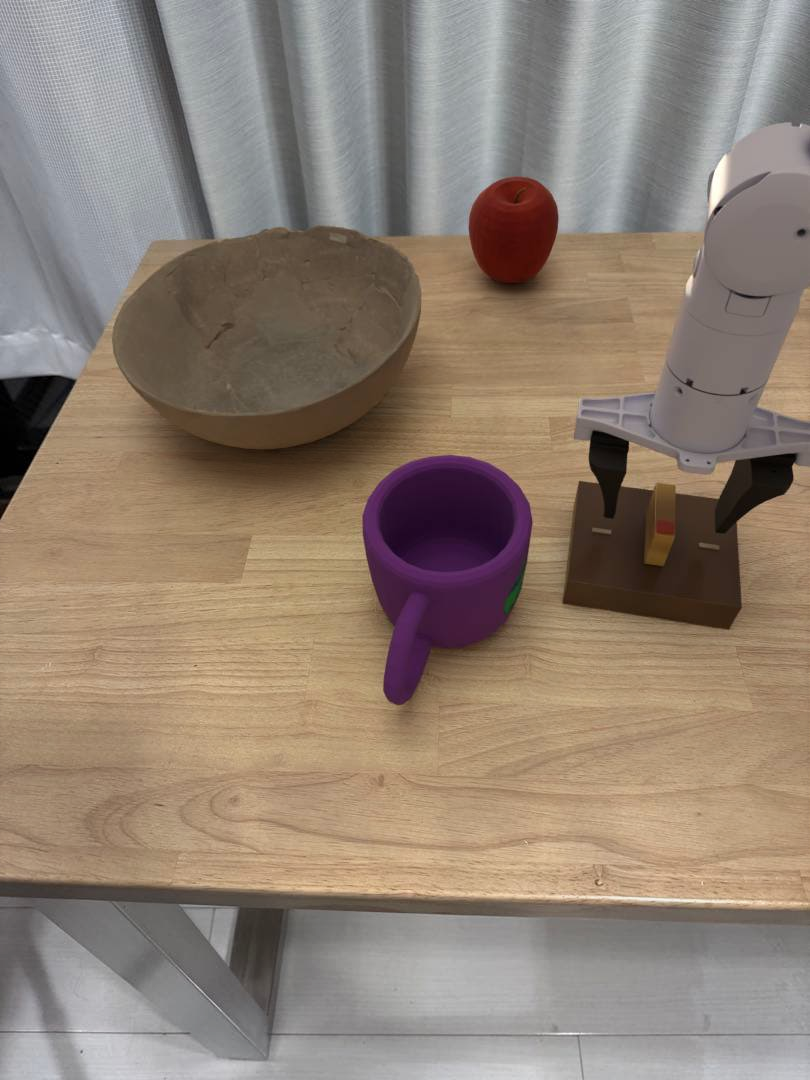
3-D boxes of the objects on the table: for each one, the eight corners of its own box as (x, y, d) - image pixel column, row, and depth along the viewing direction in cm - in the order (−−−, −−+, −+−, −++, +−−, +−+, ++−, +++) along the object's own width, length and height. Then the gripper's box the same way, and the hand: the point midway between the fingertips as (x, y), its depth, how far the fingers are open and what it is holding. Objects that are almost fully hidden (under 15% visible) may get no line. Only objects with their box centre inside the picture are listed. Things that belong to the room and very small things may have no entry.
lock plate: (724, 524, 59) (736, 499, 56) (729, 629, 53) (742, 606, 50) (573, 504, 61) (579, 479, 58) (562, 603, 55) (567, 579, 52)
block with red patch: (646, 512, 56) (656, 479, 53) (664, 515, 56) (676, 482, 53) (643, 564, 53) (655, 532, 50) (663, 567, 53) (676, 535, 50)
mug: (403, 524, 60) (395, 437, 52) (537, 556, 58) (550, 470, 50) (319, 708, 51) (294, 636, 43) (476, 759, 48) (480, 691, 40)
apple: (460, 294, 80) (461, 206, 72) (475, 248, 86) (478, 161, 78) (546, 302, 78) (557, 213, 70) (556, 254, 84) (567, 166, 76)
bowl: (453, 323, 77) (453, 234, 69) (377, 517, 61) (366, 430, 53) (218, 293, 83) (194, 208, 75) (92, 464, 67) (44, 378, 59)
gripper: (583, 395, 40) (556, 543, 51) (866, 425, 38) (775, 575, 48) (592, 319, 44) (565, 471, 55) (847, 342, 42) (768, 496, 53)
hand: (663, 515), depth 52 cm, fingers open, 7 cm apart
